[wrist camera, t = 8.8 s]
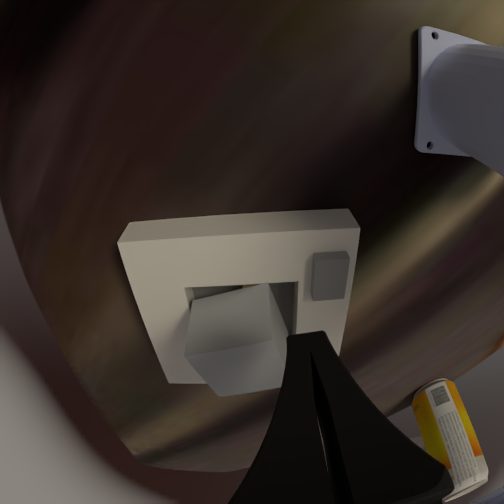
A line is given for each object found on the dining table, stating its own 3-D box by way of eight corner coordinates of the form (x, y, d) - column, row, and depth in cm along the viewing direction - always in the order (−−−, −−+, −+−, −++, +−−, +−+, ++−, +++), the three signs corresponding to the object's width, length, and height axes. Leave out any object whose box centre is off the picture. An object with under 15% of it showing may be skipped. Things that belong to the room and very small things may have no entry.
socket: (348, 208, 20) (364, 234, 17) (329, 353, 27) (335, 383, 25) (129, 222, 20) (112, 250, 17) (172, 361, 28) (167, 390, 25)
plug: (266, 265, 21) (272, 340, 16) (285, 315, 24) (293, 384, 19) (195, 283, 22) (183, 356, 17) (222, 329, 25) (219, 397, 20)
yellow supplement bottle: (411, 408, 35) (440, 505, 23) (407, 390, 32) (441, 501, 20) (452, 389, 34) (486, 483, 21) (452, 368, 31) (495, 474, 18)
